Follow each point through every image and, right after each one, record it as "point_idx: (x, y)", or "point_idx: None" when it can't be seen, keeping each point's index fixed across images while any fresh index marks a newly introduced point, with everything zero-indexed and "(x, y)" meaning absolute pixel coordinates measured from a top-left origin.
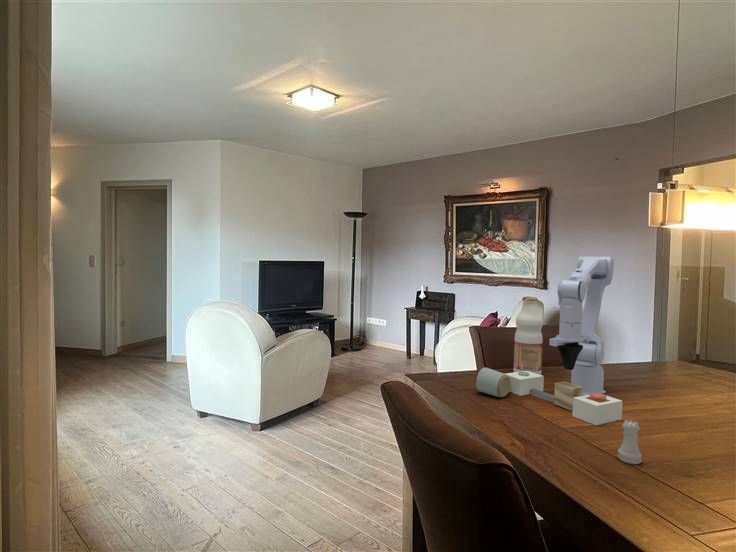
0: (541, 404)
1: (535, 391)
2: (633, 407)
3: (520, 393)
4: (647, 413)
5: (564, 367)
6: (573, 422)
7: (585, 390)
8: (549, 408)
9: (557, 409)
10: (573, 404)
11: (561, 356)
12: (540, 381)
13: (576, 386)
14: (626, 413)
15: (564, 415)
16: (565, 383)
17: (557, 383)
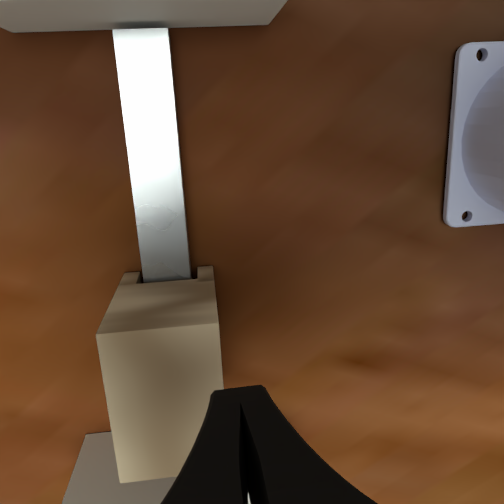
0: (48, 240)
1: (120, 88)
2: (498, 421)
3: (12, 29)
4: (470, 489)
5: (209, 402)
6: (25, 492)
7: (491, 199)
8: (48, 310)
9: (84, 336)
10: (70, 486)
11: (176, 479)
12: (242, 6)
13: None
14: (383, 468)
15: (52, 414)
16: (176, 369)
17: (109, 350)
